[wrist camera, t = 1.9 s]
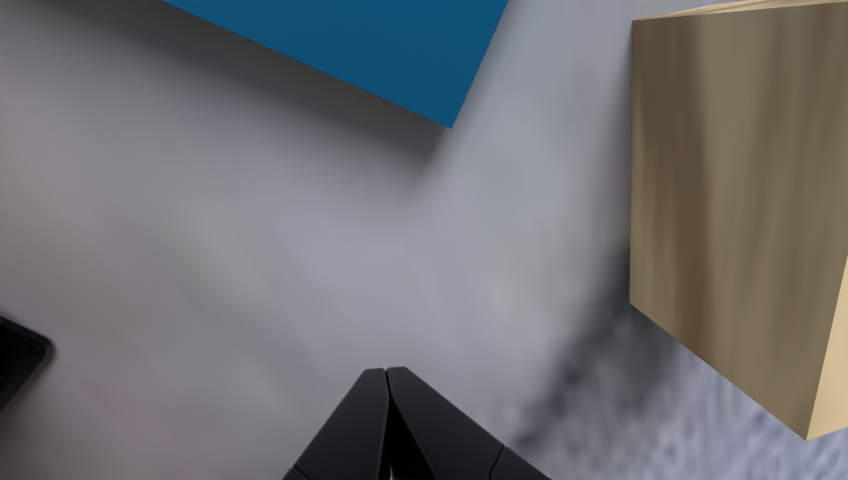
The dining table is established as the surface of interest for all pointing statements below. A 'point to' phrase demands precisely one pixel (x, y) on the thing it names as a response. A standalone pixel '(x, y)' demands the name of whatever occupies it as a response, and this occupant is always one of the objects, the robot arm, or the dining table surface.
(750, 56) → the oak plank
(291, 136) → the dining table surface
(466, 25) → the book
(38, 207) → the dining table surface
